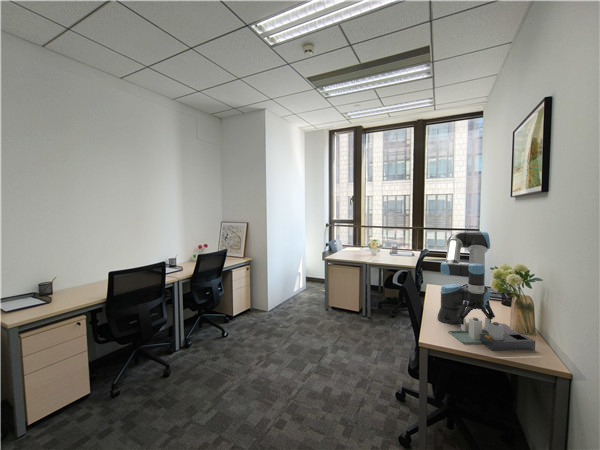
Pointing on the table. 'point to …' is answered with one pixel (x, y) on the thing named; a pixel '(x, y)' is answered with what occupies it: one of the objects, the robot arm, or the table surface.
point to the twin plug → (496, 331)
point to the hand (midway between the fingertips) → (475, 330)
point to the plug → (475, 328)
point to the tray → (466, 336)
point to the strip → (508, 342)
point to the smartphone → (507, 329)
